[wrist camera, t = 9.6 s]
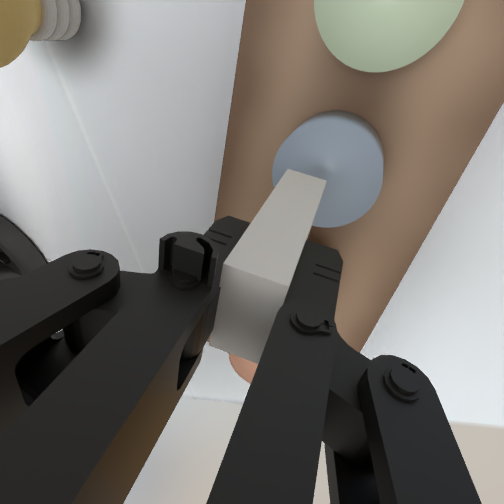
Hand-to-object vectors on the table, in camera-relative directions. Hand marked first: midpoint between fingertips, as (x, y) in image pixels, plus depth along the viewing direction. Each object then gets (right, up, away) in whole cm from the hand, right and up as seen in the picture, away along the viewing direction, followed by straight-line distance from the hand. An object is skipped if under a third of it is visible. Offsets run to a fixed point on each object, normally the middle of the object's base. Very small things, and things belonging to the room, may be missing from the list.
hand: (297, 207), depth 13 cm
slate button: (+2, +3, +5) cm, 6 cm away
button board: (+3, +2, +9) cm, 10 cm away
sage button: (+4, +9, +1) cm, 9 cm away
